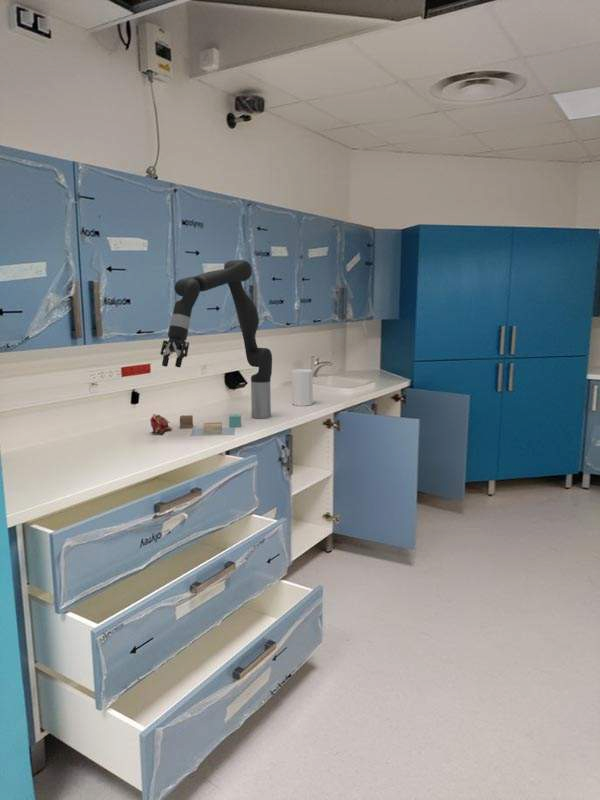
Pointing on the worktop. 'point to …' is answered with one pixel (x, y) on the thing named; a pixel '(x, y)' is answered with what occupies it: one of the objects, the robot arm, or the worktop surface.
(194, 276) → the robot arm
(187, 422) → the block walnut
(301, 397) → the cup
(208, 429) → the base block
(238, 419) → the block teal
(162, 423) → the flower
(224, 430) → the board
